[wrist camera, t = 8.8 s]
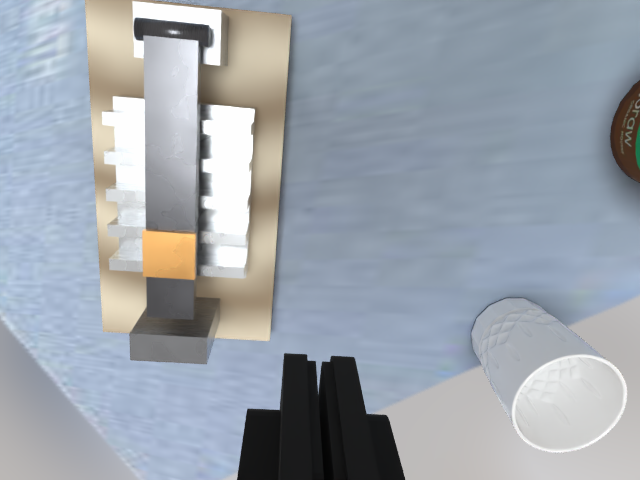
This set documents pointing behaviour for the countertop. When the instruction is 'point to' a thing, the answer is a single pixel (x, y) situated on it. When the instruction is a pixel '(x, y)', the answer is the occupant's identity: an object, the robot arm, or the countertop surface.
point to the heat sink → (213, 202)
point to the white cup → (547, 377)
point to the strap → (171, 163)
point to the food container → (627, 133)
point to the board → (216, 88)
